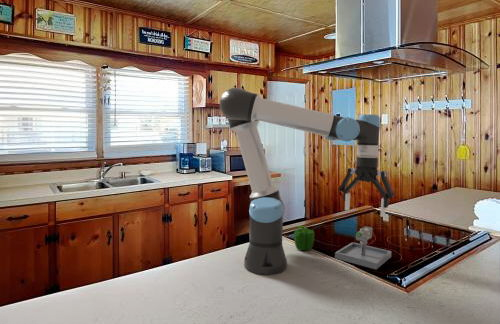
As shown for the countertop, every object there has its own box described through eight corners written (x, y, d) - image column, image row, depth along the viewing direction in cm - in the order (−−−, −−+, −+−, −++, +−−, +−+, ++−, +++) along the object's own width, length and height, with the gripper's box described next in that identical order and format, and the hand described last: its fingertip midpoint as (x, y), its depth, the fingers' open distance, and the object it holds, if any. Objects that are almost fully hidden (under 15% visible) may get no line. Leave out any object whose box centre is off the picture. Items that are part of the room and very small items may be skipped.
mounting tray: (334, 258, 125) (335, 252, 124) (352, 247, 136) (352, 242, 136) (376, 269, 115) (376, 263, 114) (391, 256, 126) (391, 251, 126)
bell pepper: (311, 245, 139) (312, 222, 138) (316, 252, 131) (317, 227, 130) (291, 245, 138) (292, 222, 137) (295, 252, 130) (295, 227, 129)
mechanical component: (353, 257, 123) (354, 231, 122) (364, 250, 130) (366, 225, 129) (361, 259, 121) (362, 233, 120) (372, 252, 128) (373, 227, 127)
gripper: (331, 154, 127) (329, 208, 129) (399, 159, 111) (395, 221, 113) (340, 154, 133) (337, 205, 135) (406, 158, 117) (402, 217, 119)
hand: (364, 212), depth 124 cm, fingers open, 13 cm apart
